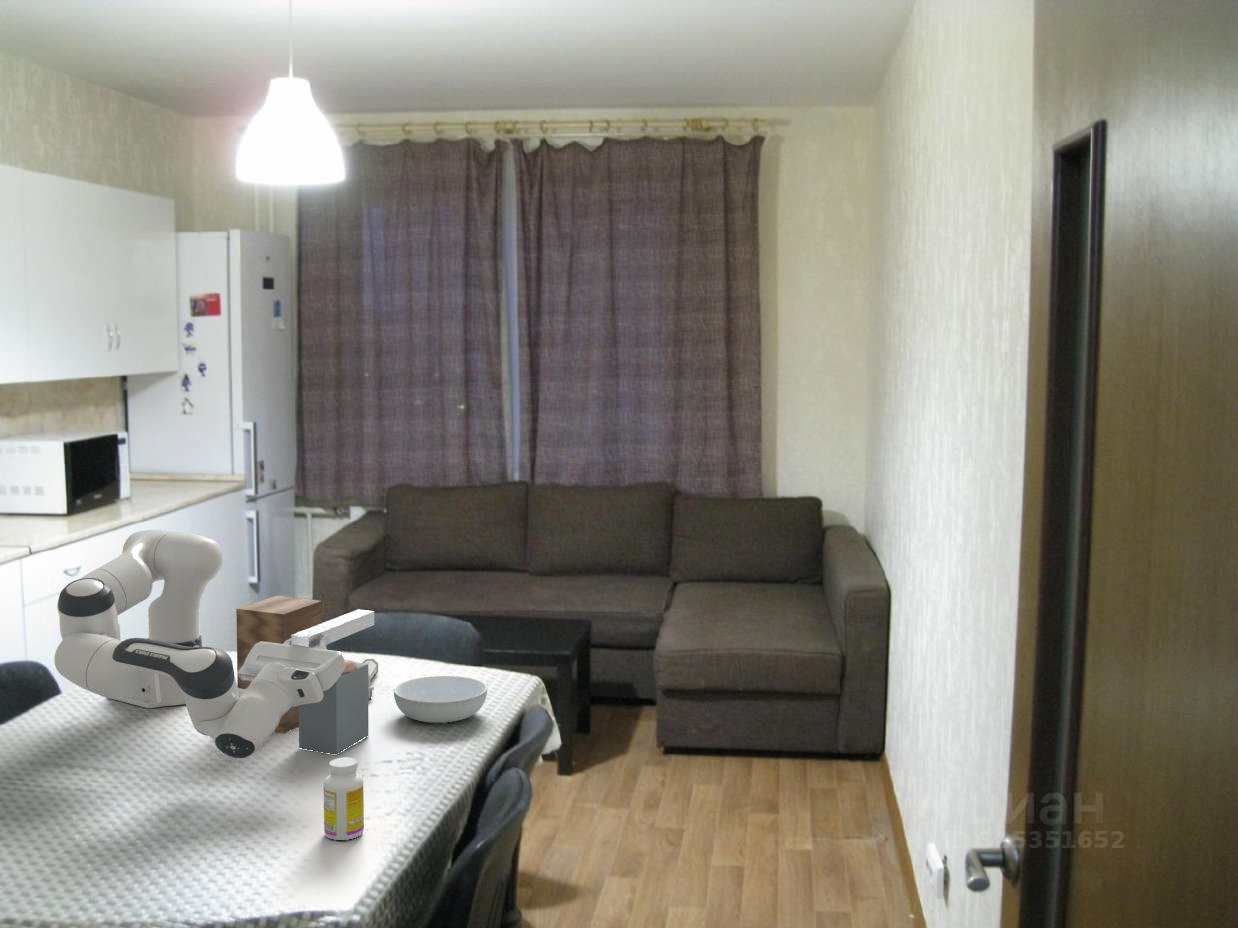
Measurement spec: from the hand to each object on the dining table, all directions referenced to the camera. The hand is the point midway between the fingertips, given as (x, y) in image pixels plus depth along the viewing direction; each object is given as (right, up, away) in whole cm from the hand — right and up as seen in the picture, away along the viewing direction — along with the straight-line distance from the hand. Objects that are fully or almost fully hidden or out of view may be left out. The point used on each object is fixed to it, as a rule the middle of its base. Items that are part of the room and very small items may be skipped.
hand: (314, 635), depth 240 cm
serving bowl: (+21, -23, +28) cm, 42 cm away
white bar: (+2, -1, +7) cm, 7 cm away
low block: (+2, -24, +10) cm, 26 cm away
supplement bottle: (+14, -29, -35) cm, 48 cm away
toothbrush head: (0, -20, +50) cm, 54 cm away
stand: (-13, -22, +24) cm, 35 cm away
